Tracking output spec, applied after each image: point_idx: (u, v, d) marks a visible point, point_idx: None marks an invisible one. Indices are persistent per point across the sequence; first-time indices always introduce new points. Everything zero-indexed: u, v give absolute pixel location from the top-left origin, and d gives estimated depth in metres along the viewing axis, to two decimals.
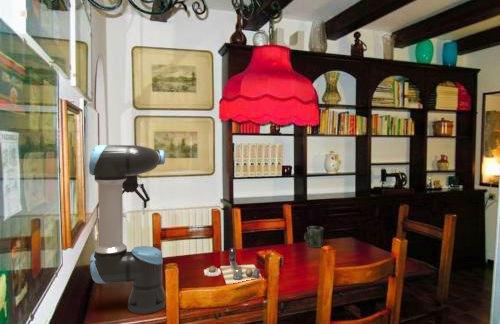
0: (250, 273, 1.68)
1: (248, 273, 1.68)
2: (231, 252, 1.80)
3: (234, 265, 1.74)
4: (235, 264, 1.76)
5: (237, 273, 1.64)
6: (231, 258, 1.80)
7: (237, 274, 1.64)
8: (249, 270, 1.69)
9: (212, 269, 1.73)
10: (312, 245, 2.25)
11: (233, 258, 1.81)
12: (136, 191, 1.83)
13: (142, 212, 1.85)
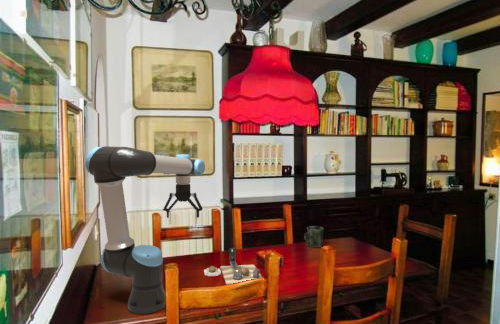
0: (245, 270, 1.69)
1: (244, 272, 1.69)
2: (231, 252, 1.80)
3: (234, 265, 1.74)
4: (235, 264, 1.76)
5: (237, 273, 1.64)
6: (231, 258, 1.80)
7: (237, 274, 1.64)
8: (243, 269, 1.70)
9: (212, 269, 1.73)
10: (312, 245, 2.25)
11: (233, 258, 1.81)
12: (189, 200, 1.81)
13: (195, 222, 1.82)
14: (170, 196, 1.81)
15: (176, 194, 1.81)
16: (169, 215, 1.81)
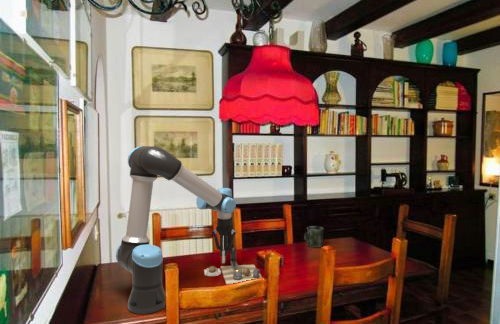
0: (247, 270, 1.69)
1: (245, 272, 1.69)
2: (232, 252, 1.80)
3: (234, 265, 1.74)
4: (236, 264, 1.76)
5: (237, 273, 1.64)
6: (232, 258, 1.81)
7: (237, 274, 1.64)
8: (245, 269, 1.70)
9: (212, 269, 1.73)
10: (312, 245, 2.25)
11: (234, 258, 1.81)
12: (226, 236, 1.80)
13: (223, 260, 1.81)
14: (214, 234, 1.81)
15: (217, 228, 1.81)
16: (222, 254, 1.81)
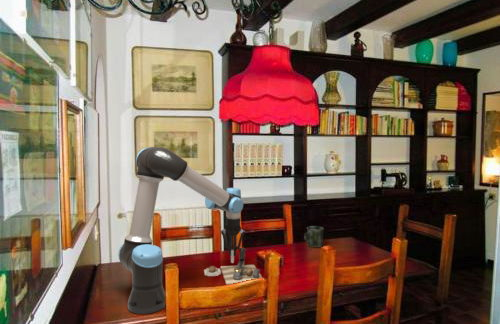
0: (251, 272, 1.69)
1: (249, 272, 1.69)
2: (240, 252, 1.81)
3: (239, 265, 1.74)
4: (241, 264, 1.76)
5: (236, 273, 1.64)
6: (240, 258, 1.81)
7: (236, 274, 1.64)
8: (249, 269, 1.70)
9: (212, 269, 1.73)
10: (312, 245, 2.25)
11: (242, 258, 1.81)
12: (235, 236, 1.80)
13: (232, 260, 1.81)
14: (223, 233, 1.81)
15: (226, 228, 1.81)
16: (231, 253, 1.81)
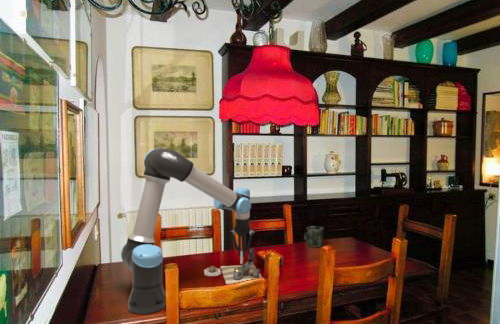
0: None
1: (252, 272, 1.69)
2: (248, 253, 1.80)
3: (243, 265, 1.73)
4: (246, 264, 1.75)
5: (234, 273, 1.65)
6: (248, 259, 1.80)
7: (235, 274, 1.65)
8: None
9: (212, 269, 1.73)
10: (312, 245, 2.25)
11: (250, 259, 1.79)
12: (244, 237, 1.79)
13: (241, 261, 1.80)
14: (232, 234, 1.80)
15: (235, 229, 1.80)
16: (241, 254, 1.80)
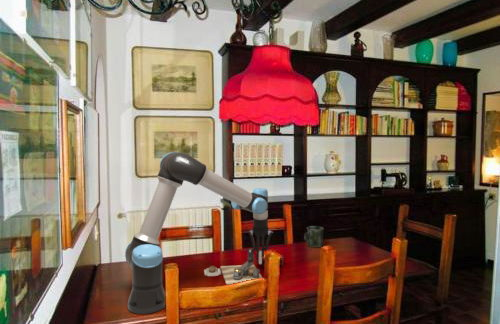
0: None
1: (252, 272, 1.69)
2: (248, 252, 1.80)
3: (243, 265, 1.73)
4: (246, 264, 1.75)
5: (235, 273, 1.65)
6: (248, 258, 1.80)
7: (235, 274, 1.65)
8: None
9: (212, 269, 1.73)
10: (312, 245, 2.25)
11: (250, 259, 1.79)
12: (263, 237, 1.79)
13: (260, 261, 1.80)
14: (250, 234, 1.79)
15: (253, 229, 1.79)
16: (259, 254, 1.79)
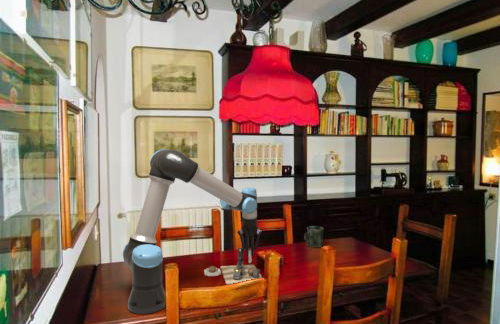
0: None
1: (251, 272, 1.69)
2: (239, 252, 1.81)
3: (238, 265, 1.74)
4: (240, 264, 1.76)
5: (236, 273, 1.64)
6: (239, 258, 1.81)
7: (236, 274, 1.64)
8: (253, 270, 1.70)
9: (212, 269, 1.73)
10: (312, 245, 2.25)
11: (241, 258, 1.81)
12: (252, 236, 1.79)
13: (249, 260, 1.80)
14: (239, 234, 1.80)
15: (243, 228, 1.80)
16: (249, 254, 1.80)
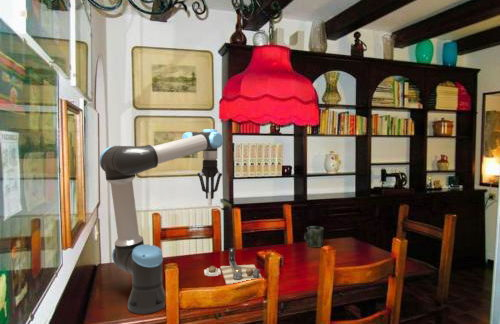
0: (251, 271, 1.70)
1: (249, 270, 1.70)
2: (231, 252, 1.80)
3: (234, 265, 1.74)
4: (235, 264, 1.76)
5: (237, 273, 1.64)
6: (231, 258, 1.80)
7: (237, 274, 1.64)
8: (250, 268, 1.71)
9: (212, 269, 1.73)
10: (312, 245, 2.25)
11: (233, 258, 1.80)
12: (212, 178, 1.77)
13: (209, 203, 1.78)
14: (199, 175, 1.78)
15: (203, 170, 1.78)
16: (208, 196, 1.78)
